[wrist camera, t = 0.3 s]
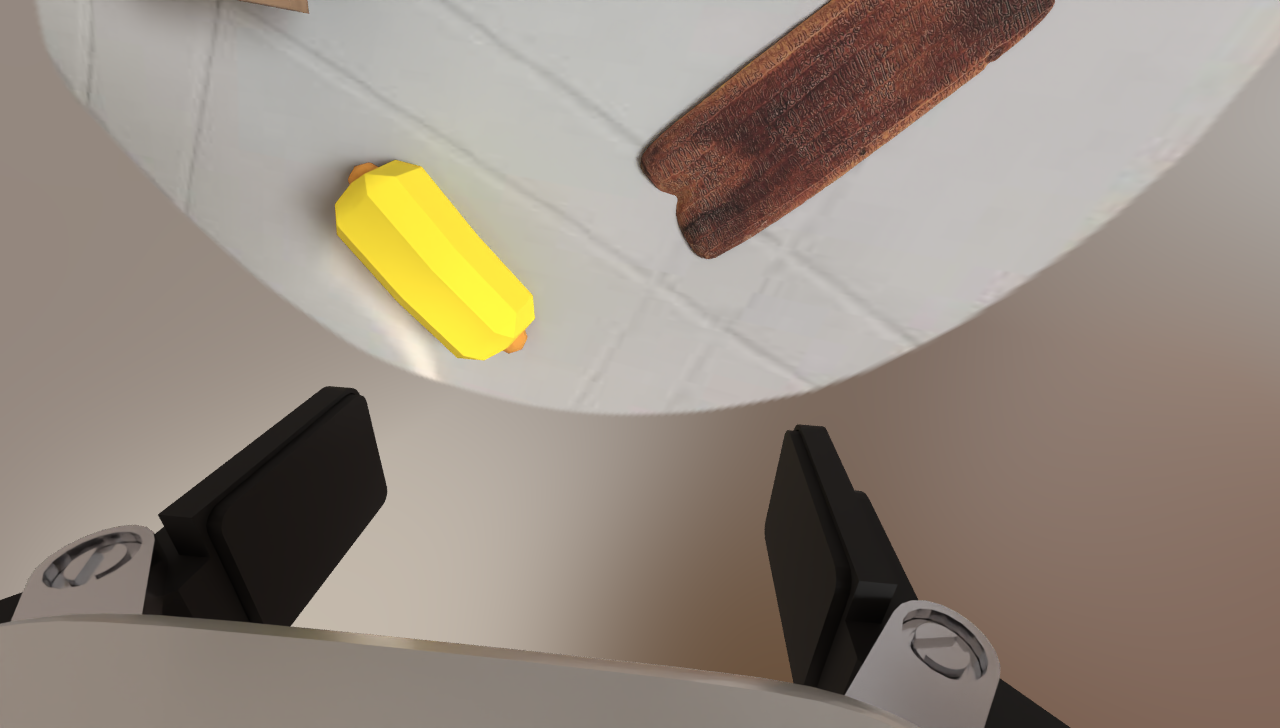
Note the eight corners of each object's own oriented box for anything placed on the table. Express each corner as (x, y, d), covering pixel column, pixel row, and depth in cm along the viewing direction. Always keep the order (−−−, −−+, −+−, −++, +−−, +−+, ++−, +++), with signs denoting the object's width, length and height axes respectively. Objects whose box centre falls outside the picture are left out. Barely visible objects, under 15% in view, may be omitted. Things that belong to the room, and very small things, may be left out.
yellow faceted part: (497, 362, 45) (560, 316, 42) (469, 400, 39) (541, 349, 36) (339, 194, 39) (401, 130, 36) (277, 209, 33) (347, 133, 30)
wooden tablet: (1021, -155, 27) (1090, 21, 29) (1000, -132, 29) (1065, 30, 31) (627, 155, 35) (703, 272, 37) (633, 156, 37) (704, 267, 40)
